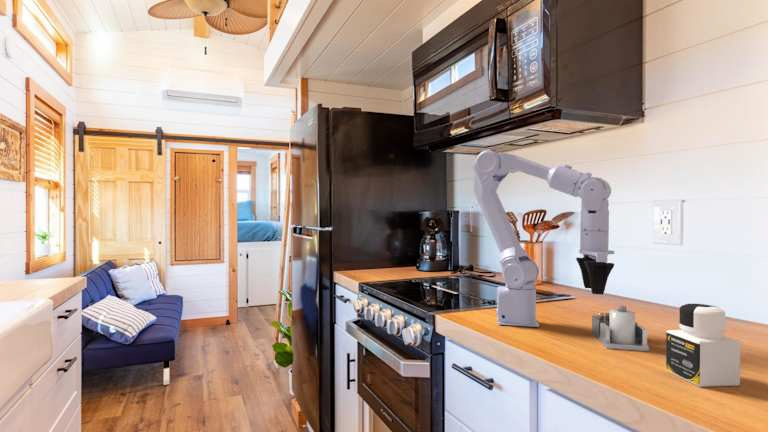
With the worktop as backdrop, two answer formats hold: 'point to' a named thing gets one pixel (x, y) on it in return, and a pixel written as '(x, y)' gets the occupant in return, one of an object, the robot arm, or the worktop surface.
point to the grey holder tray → (603, 335)
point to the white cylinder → (622, 325)
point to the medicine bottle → (703, 348)
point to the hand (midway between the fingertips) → (593, 291)
